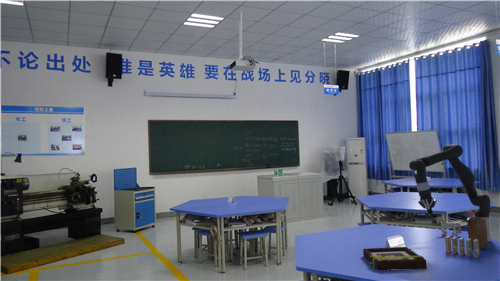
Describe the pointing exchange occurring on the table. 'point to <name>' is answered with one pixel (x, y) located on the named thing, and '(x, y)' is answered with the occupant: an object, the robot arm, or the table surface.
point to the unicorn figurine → (448, 226)
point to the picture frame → (394, 258)
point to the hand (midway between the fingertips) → (430, 214)
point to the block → (477, 231)
